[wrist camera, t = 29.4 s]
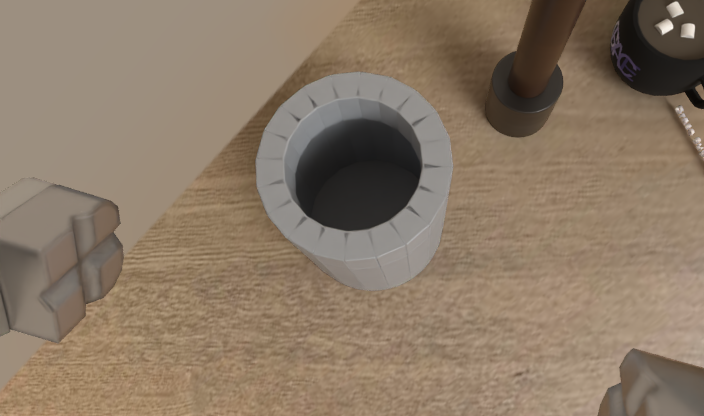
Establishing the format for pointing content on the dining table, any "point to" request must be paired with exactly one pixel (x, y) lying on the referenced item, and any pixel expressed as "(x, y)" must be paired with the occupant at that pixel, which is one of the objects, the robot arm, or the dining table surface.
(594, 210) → the dining table surface
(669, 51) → the mug
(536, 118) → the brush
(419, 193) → the gray cylindrical container
